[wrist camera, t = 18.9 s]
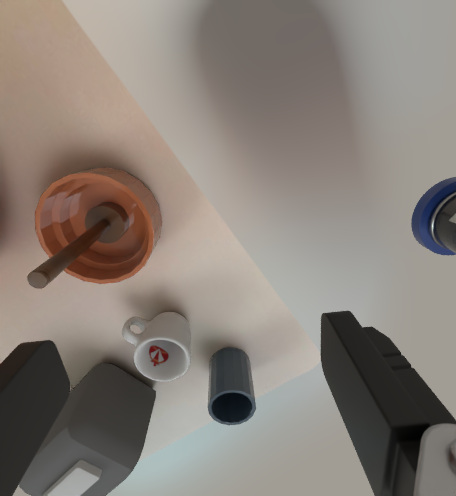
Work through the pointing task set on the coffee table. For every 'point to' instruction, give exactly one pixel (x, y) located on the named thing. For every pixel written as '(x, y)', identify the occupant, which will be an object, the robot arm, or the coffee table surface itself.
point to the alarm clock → (93, 437)
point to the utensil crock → (230, 387)
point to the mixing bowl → (73, 225)
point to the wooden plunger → (84, 241)
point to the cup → (161, 345)
